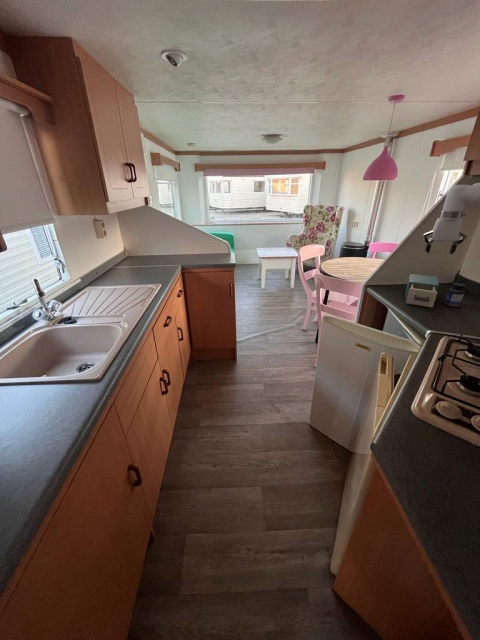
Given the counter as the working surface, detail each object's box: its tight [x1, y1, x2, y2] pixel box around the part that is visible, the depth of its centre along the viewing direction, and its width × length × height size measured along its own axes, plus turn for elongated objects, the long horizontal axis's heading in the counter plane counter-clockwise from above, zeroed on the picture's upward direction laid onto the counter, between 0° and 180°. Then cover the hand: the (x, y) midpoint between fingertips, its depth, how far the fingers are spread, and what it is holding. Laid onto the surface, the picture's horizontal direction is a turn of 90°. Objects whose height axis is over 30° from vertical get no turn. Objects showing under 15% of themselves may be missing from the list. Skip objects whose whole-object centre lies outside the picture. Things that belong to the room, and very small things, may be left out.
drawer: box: [405, 283, 439, 308], centre depth 132 cm, size 18×11×8 cm, turn 149°
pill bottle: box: [444, 282, 466, 308], centre depth 129 cm, size 6×6×11 cm
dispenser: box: [404, 273, 440, 300], centre depth 141 cm, size 15×13×10 cm
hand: (439, 252), depth 128 cm, fingers open, 9 cm apart
